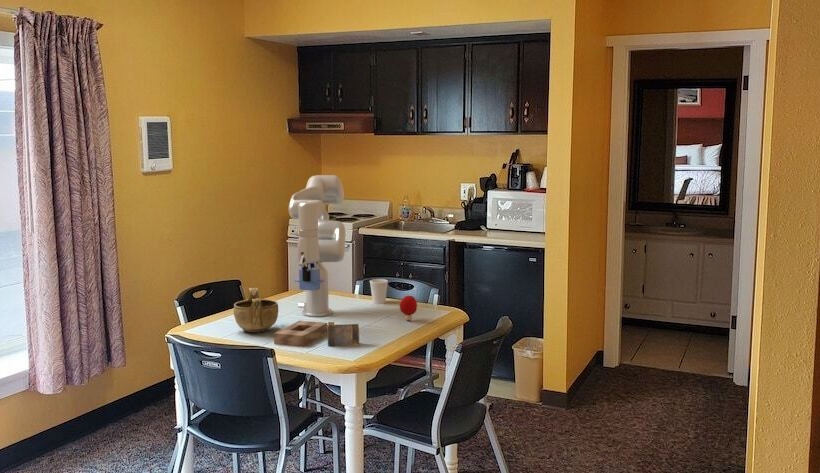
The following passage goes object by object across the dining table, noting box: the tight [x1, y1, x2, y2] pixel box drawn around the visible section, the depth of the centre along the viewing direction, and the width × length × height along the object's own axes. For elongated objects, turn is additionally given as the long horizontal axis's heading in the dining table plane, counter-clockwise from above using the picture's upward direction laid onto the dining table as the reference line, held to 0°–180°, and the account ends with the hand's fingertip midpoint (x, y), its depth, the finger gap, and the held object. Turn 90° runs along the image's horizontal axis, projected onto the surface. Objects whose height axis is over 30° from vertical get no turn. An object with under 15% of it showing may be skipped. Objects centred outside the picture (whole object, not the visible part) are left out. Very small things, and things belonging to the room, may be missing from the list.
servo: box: [294, 268, 325, 291], centre depth 308 cm, size 11×4×9 cm, turn 67°
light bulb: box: [399, 295, 418, 322], centre depth 320 cm, size 9×7×10 cm
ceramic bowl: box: [233, 287, 279, 333], centre depth 306 cm, size 22×17×15 cm
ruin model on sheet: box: [327, 321, 360, 347], centre depth 285 cm, size 11×3×10 cm, turn 97°
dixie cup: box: [369, 278, 389, 305], centre depth 354 cm, size 8×8×10 cm
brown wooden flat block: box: [273, 320, 328, 348], centre depth 294 cm, size 12×20×4 cm, turn 161°
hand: (309, 279), depth 308 cm, fingers closed on servo, 4 cm apart
